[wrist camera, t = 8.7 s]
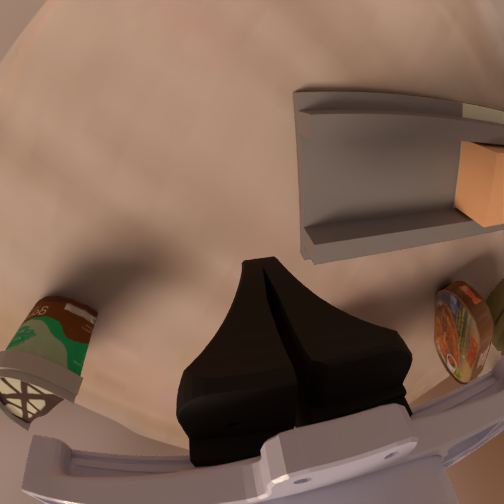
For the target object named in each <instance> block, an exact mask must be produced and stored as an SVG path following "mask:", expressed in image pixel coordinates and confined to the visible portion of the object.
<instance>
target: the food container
mask: <svg viewBox="0 0 504 504" xmlns="http://www.w3.org/2000/svg"><path fill="white" fill-rule="evenodd" d="M97 314H98V313H97V312H96V311H94V310H93V309H91V308H90V307H89V306H87V305H85V304H82V303H80V302H78V301H76V300H74V299H70V298H65V297H61V296H53V297H45V298H43V299H42V300H40V301H38V302H37V303H36V305H35V306H34V307H33V309H32V310H31V312H30V313H29V315H28V316H27V318H26V319H25V320H24V322H23V323H22V325H21V326H20V328H19V330H18V331H17V333H16V334H15V336H14V337H13V339H12V340H11V342H10V344H9V345H8V347H7V348H6V350H5V351H1V352H0V410H1V411H2V412H3V413H4V414H5V415H6V416H7V417H8V418H10V419H11V420H12V421H13V422H15V423H16V424H18V425H19V426H20V427H22V428H23V429H25V430H27V431H28V430H29V427H30V424H31V422H32V421H33V420H34V419H36V418H37V417H40V416H43V415H46V414H47V413H48V412H49V411H50V410H51V409H52V408H54V407H55V406H56V405H57V404H58V403H60V402H61V401H62V400H64V399H65V400H67V401H69V402H71V403H72V404H74V401H75V397H76V396H77V394H78V391H79V388H80V386H81V383H82V380H83V378H82V377H80V375H81V371H82V367H83V363H84V359H85V356H86V352H87V348H88V345H89V341H90V338H91V334H92V331H93V327H94V324H95V321H96V318H97Z"/></svg>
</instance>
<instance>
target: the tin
mask: <svg viewBox="0 0 504 504" xmlns="http://www.w3.org/2000/svg"><path fill="white" fill-rule="evenodd" d="M493 334H494V323H493V318H492V314H491V312H490V309H489V307H488V305H487V303H486V302H485V300H484V299H483V298H482V297H481V296H480V295H479V294H478V293H477V292H476V291H475V290H474V289H473V288H472V287H471V286H469V285H468V284H467V283H465V282H463V281H456V282H454V283H452V284H451V285H449V286H448V287H446V288H445V289H443V290H440V291H439V292H438V293H437V294H436V297H435V334H434V341H435V346H436V349H437V352H438V355H439V357H440V359H441V361H442V363H443V365H444V367H445V368H446V370H447V371H448V373H449V374H450V376H451V377H452V378H453V379H454V380H455V381H456V382H458V383H459V384H461V385H466V384H468V383H469V382H470V381H471V380H472V379H474V378H475V377H476V376H477V375H478V374H480V372H481V371H482V370H483V367H484V364H485V361H486V358H487V355H488V351H489V348H490V345H491V341H492V338H493Z"/></svg>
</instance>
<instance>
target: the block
mask: <svg viewBox="0 0 504 504" xmlns="http://www.w3.org/2000/svg"><path fill="white" fill-rule="evenodd" d="M454 207H456V208H457V209H459V210H460V211H462V212H463V213H464V214H466V215H467V216H469V217H470V218H471V219H473V220H474V221H476V222H477V223H478V224H480V225H481V226H482V227H488V226H494V225H499V224H504V145H500V144H491V143H481V142H470V141H462V148H461V159H460V168H459V177H458V184H457V191H456V197H455V204H454Z"/></svg>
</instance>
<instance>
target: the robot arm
mask: <svg viewBox="0 0 504 504" xmlns="http://www.w3.org/2000/svg"><path fill="white" fill-rule="evenodd" d="M411 363H412V354H411V352H410V350H409V349H408V347H407V345H406V344H405V342H404V341H403V339H402V338H401V337H400V335H399V334H398V333H397V331H394V330H391V329H387V328H384V327H380V326H377V325H374V324H371V323H368V322H366V321H363V320H361V319H358V318H356V317H354V316H351V315H349V314H347V313H345V312H343V311H341V310H339V309H337V308H336V307H334V306H332V305H330V304H329V303H327V302H326V301H324V300H323V299H321V298H319V297H318V296H317V295H315V294H314V293H313V292H312V291H310V290H309V289H308V288H306V287H305V286H304V285H303V284H302V283H301V282H300V281H298V280H297V279H296V278H295V277H294V276H293V275H292V274H291V273H290V272H289V271H288V270H287V269H286V268H285V267H284V266H283V265H282V264H281V263H280V262H279V260H278V259H277V258H275V257H274V256H273V257H266V258H259V259H252V260H245V261H243V263H242V273H241V278H240V282H239V286H238V289H237V292H236V295H235V298H234V300H233V303H232V305H231V308H230V310H229V312H228V314H227V316H226V318H225V320H224V321H223V323H222V325H221V326H220V328H219V330H218V331H217V333H216V334H215V336H214V337H213V339H212V340H211V341H210V342H209V344H208V345H207V346H206V348H205V349H204V350H203V351H202V353H201V354H200V355H199V356H198V357H197V358H196V359H195V360H194V361H193V362H192V363H191V364H190V365H189V366H188V367H187V368H186V369H185V370H184V372H183V375H182V378H181V381H180V385H179V389H178V395H177V409H176V416H177V419H178V422H179V423H180V425H181V427H182V428H183V430H184V431H185V433H186V434H187V436H188V438H189V448H190V455H189V456H137V455H136V456H135V455H118V454H107V453H96V452H88V451H80V450H73V449H71V448H70V447H69V446H68V445H67V444H66V443H64V442H63V441H61V440H59V439H56V438H51V437H46V436H40V435H33V437H32V441H31V445H30V449H29V454H28V458H27V463H26V468H25V473H24V478H23V484H22V491H23V492H25V493H27V494H28V495H30V496H32V497H34V498H36V499H38V500H40V501H42V502H44V503H46V504H459V502H458V499H457V497H456V495H455V492H454V490H453V487H452V485H451V482H450V480H449V478H448V476H447V473H446V471H445V469H446V468H447V467H449V466H451V465H452V464H454V463H456V462H457V461H459V460H461V459H462V458H464V457H465V456H467V455H469V454H470V453H472V452H473V451H475V450H476V449H478V448H479V447H481V446H482V445H484V444H485V443H486V442H488V441H489V440H490V439H492V438H493V437H495V436H496V435H498V434H499V433H500V432H502V431H503V430H504V355H503V356H502V357H501V358H500V359H499V360H498V361H497V362H496V363H495V365H494V366H493V368H492V371H490V372H488V373H487V374H485V375H483V376H481V377H479V378H477V379H476V380H474V381H472V382H470V383H468V384H466V385H464V386H462V387H460V388H458V389H456V390H454V391H452V392H450V393H448V394H445V395H443V396H441V397H439V398H437V399H434V400H432V401H430V402H427V403H425V404H423V405H420V406H418V407H415V408H413V409H410V407H409V405H408V403H407V401H406V399H405V397H404V396H405V395H406V390H405V388H404V386H403V381H404V379H405V377H406V375H407V373H408V371H409V369H410V366H411Z"/></svg>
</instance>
